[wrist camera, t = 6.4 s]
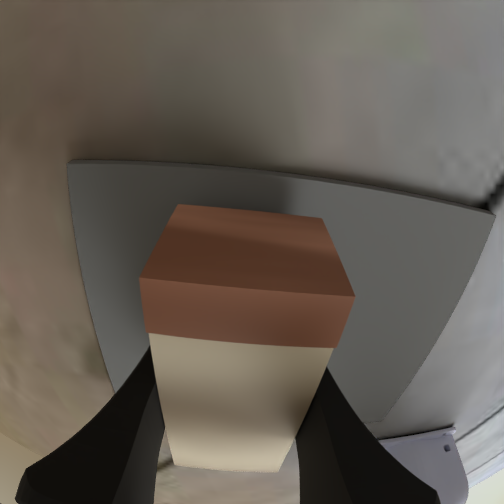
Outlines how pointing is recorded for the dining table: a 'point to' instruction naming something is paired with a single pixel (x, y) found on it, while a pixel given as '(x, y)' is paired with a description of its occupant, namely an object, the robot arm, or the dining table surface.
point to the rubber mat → (294, 203)
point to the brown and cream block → (241, 330)
